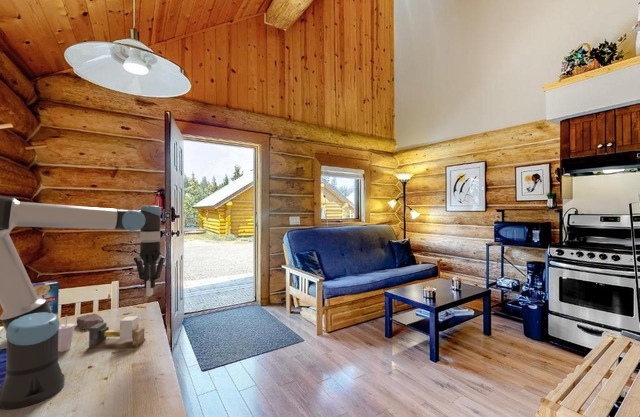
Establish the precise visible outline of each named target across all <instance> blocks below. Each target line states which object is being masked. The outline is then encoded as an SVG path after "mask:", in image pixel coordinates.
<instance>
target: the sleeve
mask: <svg viewBox="0 0 640 417" xmlns="http://www.w3.org/2000/svg"><path fill="white" fill-rule="evenodd" d="M139 318H140V316H135V315H134V316H132V315H131V316H130V315H129V316H125V317H124V318H122V319H120V320H119V330H120V337H119V338H120V339H132V338H133V331H135V330H137V329H138V328H139V323H140V322H139V321H140V320H139Z"/></svg>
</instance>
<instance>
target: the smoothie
mask: <svg viewBox="0 0 640 417" xmlns="http://www.w3.org/2000/svg"><path fill="white" fill-rule="evenodd" d="M64 320H65V323H61V324H60V326H59V337H58V353H59V352H67V351H69V350H71V347H72V341H73V335H74V329H75V328H76V324H75V323H74V322H68V314H66V315H65V318H64Z"/></svg>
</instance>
